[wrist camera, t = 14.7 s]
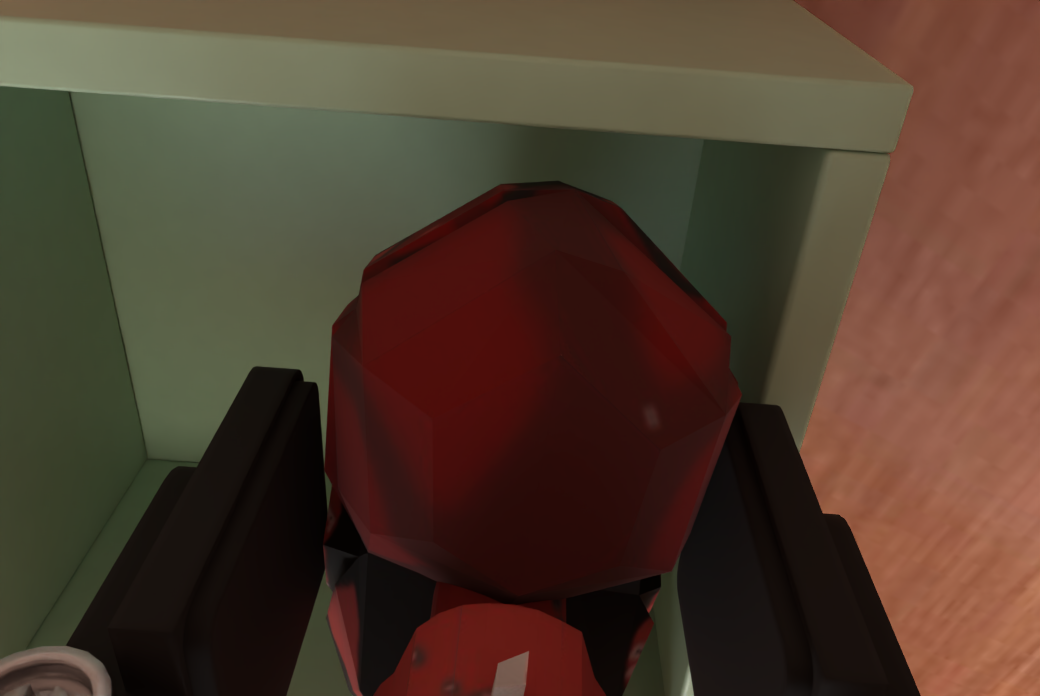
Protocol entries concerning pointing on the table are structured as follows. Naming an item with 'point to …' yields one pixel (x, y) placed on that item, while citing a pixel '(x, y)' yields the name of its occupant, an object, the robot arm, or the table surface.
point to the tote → (376, 220)
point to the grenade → (516, 448)
